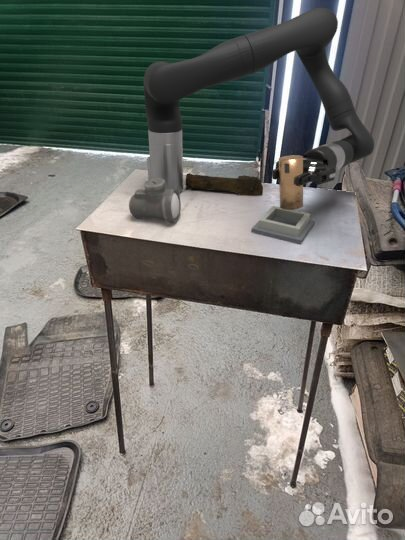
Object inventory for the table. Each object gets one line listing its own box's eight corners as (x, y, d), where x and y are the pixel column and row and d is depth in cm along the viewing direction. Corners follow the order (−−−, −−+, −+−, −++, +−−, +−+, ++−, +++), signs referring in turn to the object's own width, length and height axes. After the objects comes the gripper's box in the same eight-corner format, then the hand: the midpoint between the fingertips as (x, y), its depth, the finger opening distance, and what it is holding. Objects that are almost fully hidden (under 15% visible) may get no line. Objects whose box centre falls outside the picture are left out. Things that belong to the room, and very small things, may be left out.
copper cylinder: (276, 209, 88) (275, 161, 83) (284, 201, 92) (283, 155, 86) (298, 210, 85) (298, 161, 80) (305, 202, 89) (306, 155, 84)
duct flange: (251, 232, 90) (252, 220, 89) (268, 214, 99) (270, 203, 98) (300, 244, 85) (302, 232, 84) (314, 224, 94) (316, 213, 93)
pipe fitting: (184, 212, 98) (178, 174, 92) (175, 228, 92) (168, 189, 86) (141, 212, 101) (132, 175, 95) (130, 227, 95) (120, 189, 89)
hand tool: (183, 191, 113) (183, 173, 110) (188, 185, 117) (188, 168, 113) (260, 201, 107) (262, 182, 104) (262, 194, 111) (264, 176, 108)
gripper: (300, 140, 96) (260, 154, 86) (354, 151, 88) (317, 168, 78) (296, 169, 100) (257, 186, 90) (347, 183, 92) (311, 203, 82)
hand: (285, 178), depth 84 cm, fingers closed on copper cylinder, 5 cm apart
